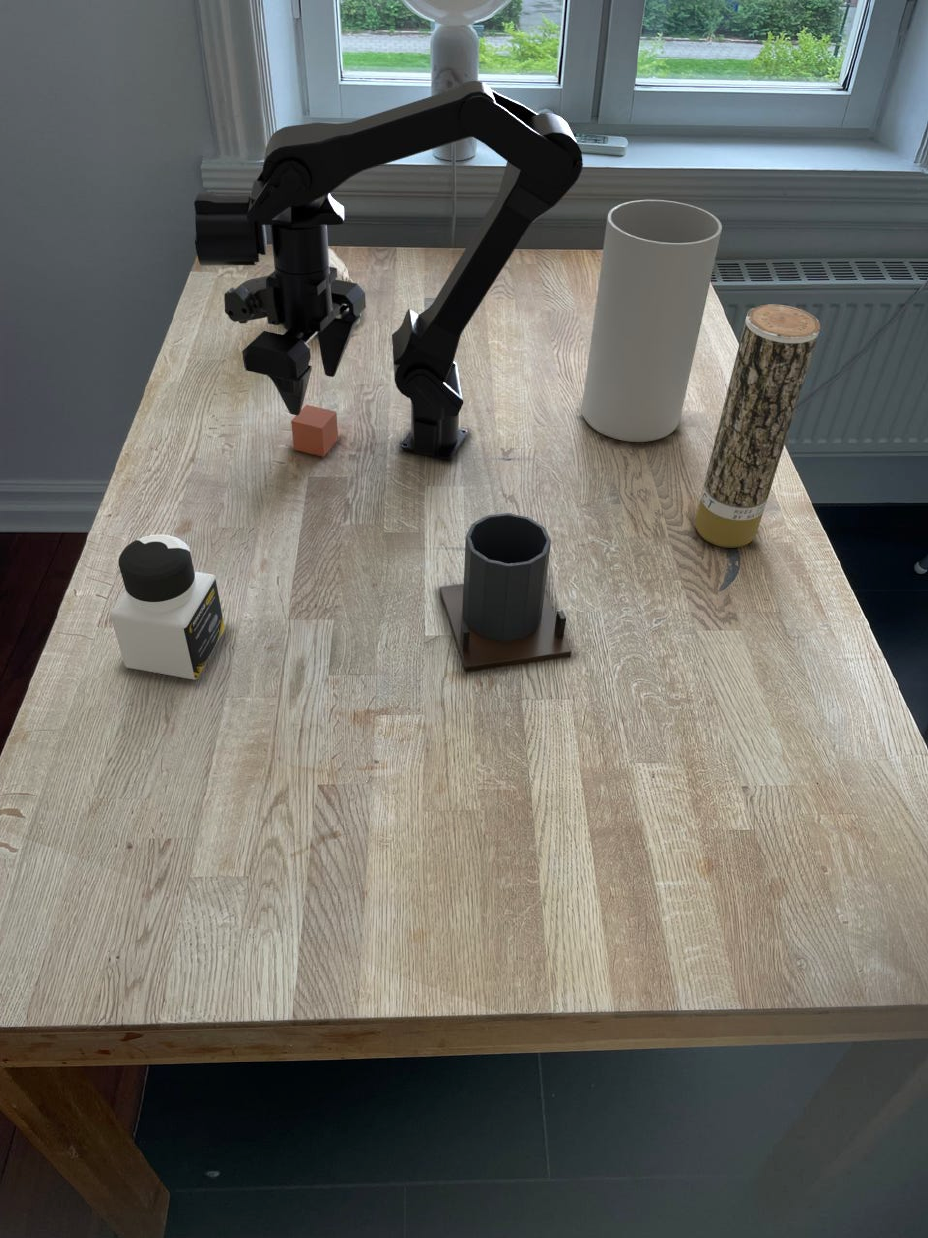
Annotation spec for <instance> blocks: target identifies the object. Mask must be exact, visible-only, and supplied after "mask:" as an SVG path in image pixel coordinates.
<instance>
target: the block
mask: <svg viewBox="0 0 928 1238" xmlns="http://www.w3.org/2000/svg"><path fill="white" fill-rule="evenodd" d="M290 423H291V425H290V426H291V435H292V444H293V445H292V446H293V451H298V452H301V453H306V454H310V455H315V456H319V457H322V458H324V457H326V455H327V454H328V453H329V452H330V450H331V449H332V448H333V447H334V446H335V444H336V443H337V442H338V441H339V432H338V414H337V410H331V409H326V408H322V407H319V406H315V405H309V404H305V405H304V407H302V408H301V412H300V414H299V415H294V418H292V420H291V421H290Z"/></svg>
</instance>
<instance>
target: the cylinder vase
mask: <svg viewBox="0 0 928 1238" xmlns="http://www.w3.org/2000/svg"><path fill="white" fill-rule="evenodd" d="M722 230H723V225H722V222H721V221H720V219H718V218H717V217H716V216H715V215H714V214H712V213H711V212H709V211H707V210H705V209H703V208H700V207H697V206H695V205H691V204H689V203H684V202H680V201H674V200H673V201H672V200H664V199H639V200H632V201H627V202H623V203H620V204H618V205H616V206H614V207H613V208H610V210H609V212H608V213H607V218H606V226H605V232H604V233H605V234H604V239H603V240H604V241H603V248H602V256H601V262H600V271H599V278H598V283H597V284H598V286H597V293H596V300H595V307H594V314H593V316H594V317H593V320H592V321H593V322H592V330H591V336H590V344H589V352H588V358H587V366H586V373H585V380H584V388H583V395H582V404H581V414H582V416H583V418H584V420H585V422H586V423H587V424H588V425H589V427H590V428H592V429H593V430H595V431H596V432H598V433H599V434H601V435H603V436H605V437H608V438H611V439H614V440H618V441H624V442H631V443H647V442H653V441H658V440H661V439H663V438H665V437H668V436H669V435H670V434H672V433H673V432H674V431H675V430H676V429H677V428H678V426H679V425H680V421H681V417H682V413H683V408H684V404H685V399H686V395H687V390H688V385H689V381H690V376H691V372H692V367H693V363H694V357H695V353H696V348H697V344H698V339H699V335H700V332H701V331H700V330H701V325H702V321H703V316H704V313H705V307H706V304H707V298H708V294H709V289H710V284H711V280H712V276H713V271H714V266H715V261H716V258H717V257H716V256H717V253H718V248H719V247H718V246H719V243H720V239H721V235H722Z"/></svg>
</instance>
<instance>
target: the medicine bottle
mask: <svg viewBox="0 0 928 1238" xmlns="http://www.w3.org/2000/svg"><path fill="white" fill-rule="evenodd" d="M118 568H119V571H120V575H121V578H122V582H123V586H124V589H125V590H124V591H122V594H121V595H120V597H119V598H118V600H117V601H116V602H115V604H114V605H113V606H112V608H111V610H110V611H109V616H110V620H111V623H112V626H113V630H114V634H115V637H116V640H117V643H118V647H119V650H120V653H121V656H122V661H123V663H124V666H125V667H126V668H127V669H131V670H139V671H142V672H148V673H155V674H161V675H165V676H171V677H176V678H181V679H187V680H197V679H198V678H200V675H201V673H202V672H203V670H204V668H205V666H206V664H207V663H208V661H209V659H210V657H211V655H212V654H213V651H214V650H215V648H216V646H217V644H218V643H219V641H220V640H221V637H222V635H223V633H224V632H225V628H226V626H225V621H224V617H223V611H222V605H221V601H220V595H219V590H218V584H217V579H216V575H214V574H211V573H205V572H201V571H200V572H199V571H195V567H194V564H193V559H192V554H191V549H190V547H189V545H188V544H187V543H186V542H185V541H183V540H182V539H180V538H178V537H176V536H173V535H169V534H151V535H146V536H142V537H139V538H137V539H135V540H133V541H132V542H130V543H128V545H126V546H125V548H124V549H123V550H122V551H121V552H120V555H119V557H118Z"/></svg>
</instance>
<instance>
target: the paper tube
mask: <svg viewBox="0 0 928 1238" xmlns="http://www.w3.org/2000/svg"><path fill="white" fill-rule="evenodd" d="M820 330H821V323H820V321H819V320H818V318H817V317H815V316H814V315H813V314H811V313H810V312H808V311H806V310H803V309H801V308H797V307H794V306H790V305H786V304H785V305H784V304H773V303H772V304H762V305H757V306H755V307H753V308H750V309H749V311H748V312H747V315H746V317H745V319H744V324H743V328H742V330H741V331H742V332H741V336H740V340H739V344H738V348H737V352H736V355H735V360H734V364H733V368H732V371H731V375H730V379H729V383H728V386H727V387H728V388H727V392H726V395H725V398H724V399H725V400H724V403H723V406H722V407H723V408H722V412H721V415H720V419H719V423H718V427H717V431H716V435H715V439H714V443H713V447H712V451H711V455H710V458H709V459H710V460H709V463H708V467H707V471H706V475H705V478H704V483H703V487H702V491H701V495H700V499H699V504H698V506H697V507H698V508H697V511H696V515H695V519H694V525H695V528H696V531H697V533H698V534H699V536H700V537H702V538H703V539H704V540H705V541H707V542H709V544H712V545H715V546H718V547H721V548H729V549H733V548H734V549H735V548H741V547H744V546H746V545H748V544H750V543H751V542H752V541H754V539H755V538H756V536H757V533H758V530H759V528H760V524H761V521H762V518H763V514H764V511H765V509H766V505H767V502H768V500H769V496H770V492H771V489H772V485H773V483H774V479H775V476H776V473H777V471H778V467H779V464H780V461H781V457H782V453H783V450H784V446H785V443H786V440H787V438H788V435H789V431H790V428H791V424H792V421H793V419H794V416H795V412H796V408H797V405H798V402H799V399H800V395H801V393H802V390H803V386H804V384H805V380H806V377H807V374H808V370H809V368H810V364H811V362H812V357H813V354H814V351H815V348H816V344H817V341H818V338H819V336H820Z"/></svg>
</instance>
